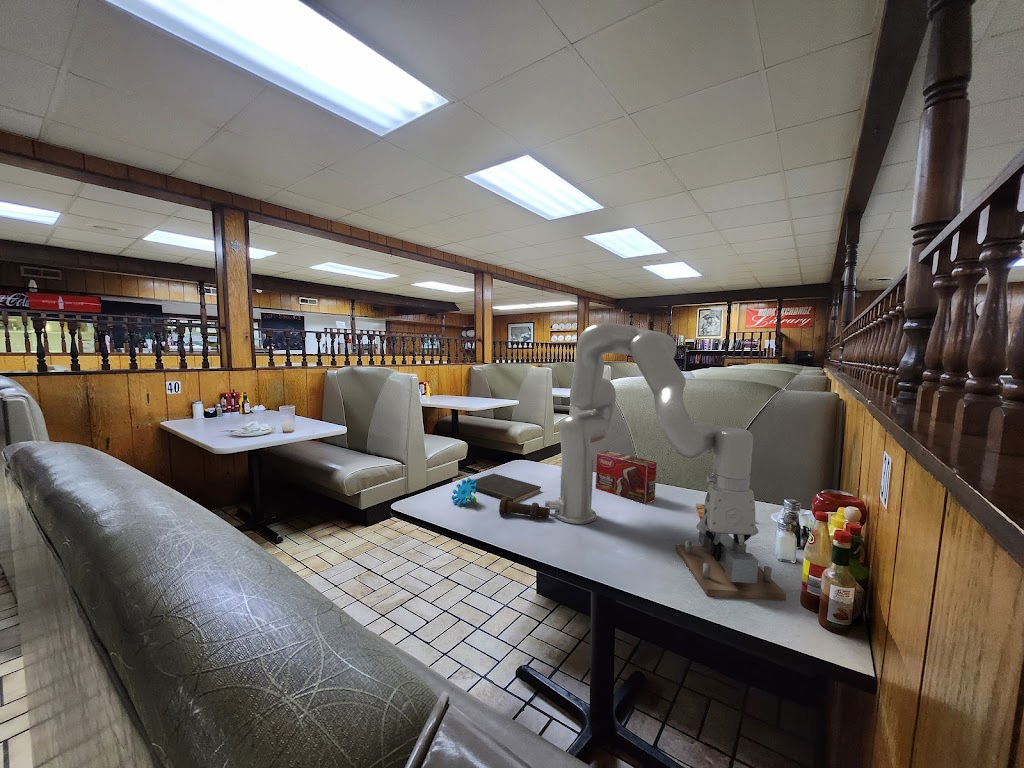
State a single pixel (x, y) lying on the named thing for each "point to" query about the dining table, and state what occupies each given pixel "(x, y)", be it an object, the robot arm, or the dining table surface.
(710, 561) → the peg rack
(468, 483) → the gear
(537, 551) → the dining table surface
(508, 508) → the bolt
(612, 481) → the ice cream box
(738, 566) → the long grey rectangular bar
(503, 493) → the hardcover book
